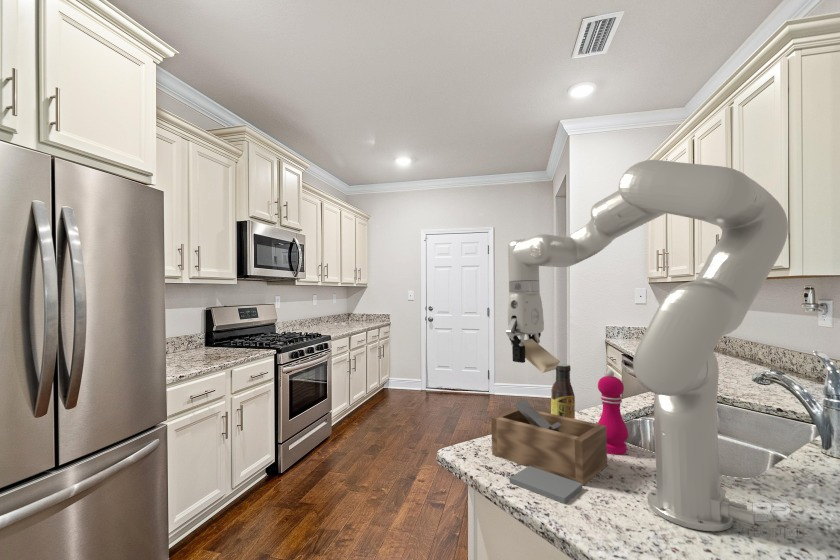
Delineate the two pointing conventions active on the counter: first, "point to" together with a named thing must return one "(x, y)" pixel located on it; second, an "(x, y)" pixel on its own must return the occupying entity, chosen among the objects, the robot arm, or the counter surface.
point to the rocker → (535, 416)
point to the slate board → (546, 484)
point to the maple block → (539, 356)
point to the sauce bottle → (563, 393)
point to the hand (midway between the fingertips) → (526, 359)
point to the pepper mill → (613, 413)
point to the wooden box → (551, 444)
